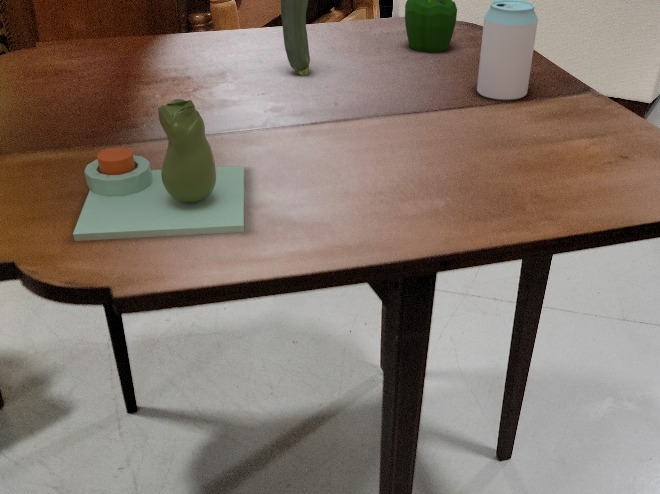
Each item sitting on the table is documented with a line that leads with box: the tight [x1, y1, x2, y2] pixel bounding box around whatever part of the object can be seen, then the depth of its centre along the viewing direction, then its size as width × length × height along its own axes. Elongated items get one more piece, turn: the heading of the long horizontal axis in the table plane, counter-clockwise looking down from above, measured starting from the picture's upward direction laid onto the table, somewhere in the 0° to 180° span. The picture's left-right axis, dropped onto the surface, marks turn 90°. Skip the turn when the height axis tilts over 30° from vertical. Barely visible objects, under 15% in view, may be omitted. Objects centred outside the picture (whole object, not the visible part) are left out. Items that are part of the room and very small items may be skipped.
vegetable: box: [280, 0, 311, 77], centre depth 104 cm, size 4×4×20 cm
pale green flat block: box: [72, 154, 246, 242], centre depth 75 cm, size 16×14×3 cm
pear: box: [157, 98, 216, 203], centre depth 72 cm, size 6×5×10 cm
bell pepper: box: [404, 0, 458, 54], centre depth 118 cm, size 8×8×10 cm
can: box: [476, 0, 539, 101], centre depth 100 cm, size 7×7×12 cm
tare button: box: [96, 147, 136, 175], centre depth 76 cm, size 4×4×2 cm
